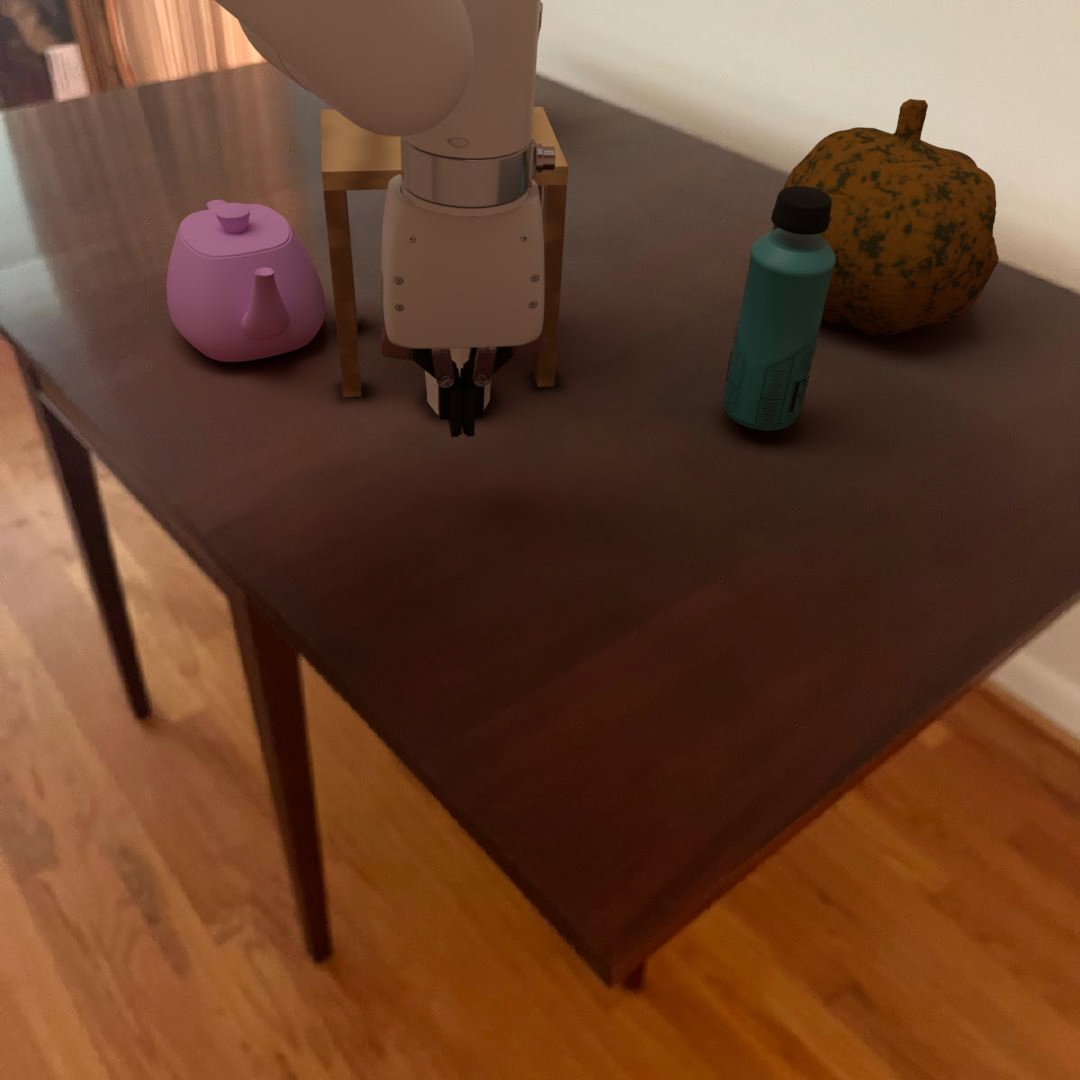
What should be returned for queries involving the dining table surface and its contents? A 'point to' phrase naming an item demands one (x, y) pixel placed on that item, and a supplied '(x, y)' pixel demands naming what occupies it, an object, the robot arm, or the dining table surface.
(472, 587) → the dining table surface
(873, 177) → the decorative pumpkin
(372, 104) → the robot arm
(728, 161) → the dining table surface
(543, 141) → the desk
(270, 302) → the teapot
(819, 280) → the beverage bottle
